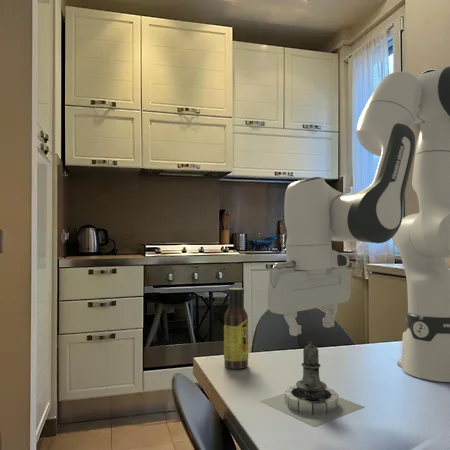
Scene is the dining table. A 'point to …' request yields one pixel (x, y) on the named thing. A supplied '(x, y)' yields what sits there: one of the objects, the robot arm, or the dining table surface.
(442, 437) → the dining table surface
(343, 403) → the board
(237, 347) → the sauce bottle
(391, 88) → the robot arm
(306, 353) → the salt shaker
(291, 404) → the ring
